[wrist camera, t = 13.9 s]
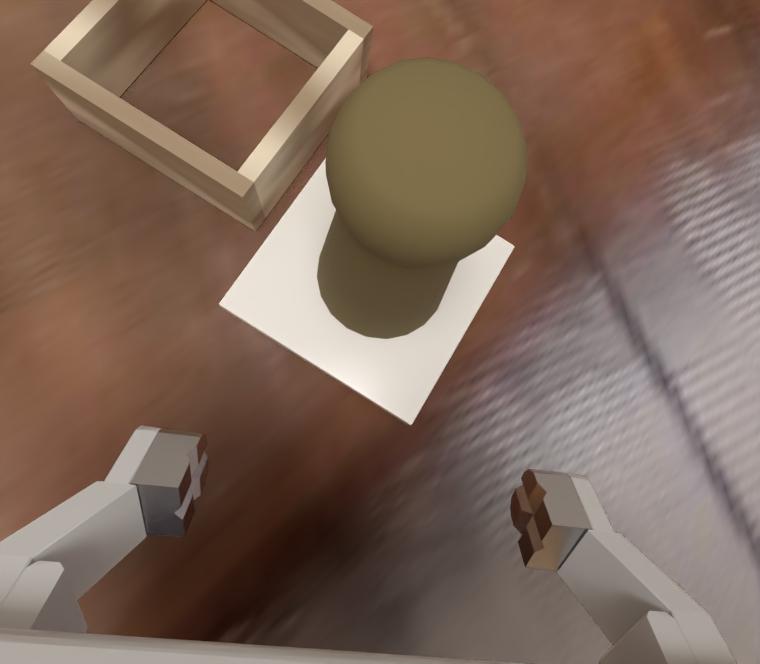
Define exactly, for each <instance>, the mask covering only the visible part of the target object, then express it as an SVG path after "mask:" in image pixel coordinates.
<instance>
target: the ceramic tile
mask: <svg viewBox="0 0 760 664" xmlns="http://www.w3.org/2000/svg"><path fill="white" fill-rule="evenodd" d="M325 161H326V158H325V160H324V161H323V162H322V164H321V165H320V166H319V168H318V169H317V171H316V172H315V173H314V175H313V176H312V177H311V179H310V180H309V181H308V183H307V184H306V186H305V187H304V188H303V190H302V191H301V192H300V194H299V195H298V197H297V198H296V199H295V201H294V202H293V203H292V205H291V206H290V207H289V209H288V210H287V212H286V213H285V214H284V216H283V217H282V218H281V220H280V221H279V222H278V224H277V225H276V227H275V228H274V229H273V231H272V232H271V233H270V235H269V236H268V238H267V239H266V240H265V242H264V243H263V244H262V246H261V247H260V248H259V250H258V251H257V253H256V254H255V255H254V257H253V258H252V259H251V261H250V262H249V263H248V265H247V266H246V268H245V269H244V270H243V272H242V273H241V274H240V276H239V277H238V278H237V280H236V281H235V283H234V284H233V285H232V287H231V288H230V289H229V291H228V292H227V294H226V295H225V296H224V298H223V299H222V300H221V302H220V303H219V305H220V306H221V307H222V308H223V309H224V310H225V311H227V312H228V313H230V314H232V315H233V316H235V317H236V318H238V319H240V320H241V321H243V322H244V323H246V324H248V325H249V326H251V327H252V328H254V329H255V330H257V331H259V332H260V333H262V334H263V335H265V336H267V337H268V338H270V339H271V340H273V341H275V342H276V343H278V344H279V345H281V346H283V347H284V348H286V349H287V350H289V351H291V352H292V353H294V354H295V355H297V356H299V357H300V358H302V359H303V360H305V361H306V362H308V363H310V364H311V365H313V366H314V367H316V368H318V369H319V370H321V371H322V372H324V373H326V374H327V375H329V376H330V377H332V378H334V379H335V380H337V381H338V382H340V383H342V384H343V385H345V386H346V387H348V388H350V389H351V390H353V391H354V392H356V393H357V394H359V395H361V396H362V397H364V398H365V399H367V400H369V401H370V402H372V403H373V404H375V405H377V406H378V407H380V408H381V409H383V410H385V411H386V412H388V413H389V414H391V415H393V416H394V417H396V418H397V419H399V420H400V421H402V422H404V423H405V424H407V425H412V423H413V422H414V420H415V418H416V416H417V415H418V413H419V411H420V409H421V408H422V406H423V404H424V403H425V401H426V399H427V397H428V396H429V394H430V392H431V390H432V389H433V387H434V385H435V383H436V382H437V380H438V378H439V377H440V375H441V373H442V371H443V370H444V368H445V366H446V364H447V363H448V361H449V359H450V358H451V356H452V354H453V352H454V351H455V349H456V347H457V345H458V344H459V342H460V340H461V339H462V337H463V335H464V333H465V332H466V330H467V328H468V326H469V325H470V323H471V321H472V320H473V318H474V316H475V314H476V313H477V311H478V309H479V307H480V306H481V304H482V302H483V300H484V299H485V297H486V295H487V294H488V292H489V290H490V288H491V287H492V285H493V283H494V281H495V280H496V278H497V276H498V275H499V273H500V271H501V269H502V268H503V266H504V264H505V262H506V261H507V259H508V257H509V256H510V254H511V252H512V250H513V249H514V247H515V246H513V245H512V244H510V243H509V242H507V241H505V240H504V239H502V238H501V237H499V236H497V235H496V236H495V237H494V238H493V239H492V240H491V241H490V242H489V243H488V244H487V245H486V246H485V247H484V248H482V249H480V250H478V251H476V252H475V253H473V254H471V255H469V256H467V257H466V258H464V259H462V260H460V261H459V262H458V264H457V266H456V269H455V271H454V273H453V275H452V278H451V280H450V282H449V285H448V287H447V289H446V291H445V294H444V296H443V298H442V300H441V303H440V305H439V307H438V310H437V311H436V312H435V313H434V314H433V316H432V317H431V318H430V319H429V320H428V321H427V322H426V324H425V325H423V326H422V327H420V328H418V329H416V330H415V331H413V332H411V333H410V334H408V335H405V336H400V337H395V338H390V339H381V338H372V337H365V336H363V335H361V334H359V333H356V332H354V331H352V330H350V329H347V328H346V327H345V326H344V325H343V324H342V323H340V322H339V321H338V320H337V319H336V318H335V317H334V316H333V315H331V313H330V311H329V310H328V308H327V306H326V304H325V303H324V301H323V299H322V298H321V295H320V290H319V285H318V280H317V271H318V263H319V256H320V253H321V251H322V248H323V245H324V242H325V239H326V236H327V234H328V231H329V228H330V225H331V222H332V219H333V217H334V214H335V211H336V209H335V207H334V205H333V204H332V200H331V196H330V191H329V187H328V182H327V178H326V165H325Z"/></svg>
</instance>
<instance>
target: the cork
mask: <svg viewBox="0 0 760 664" xmlns="http://www.w3.org/2000/svg"><path fill="white" fill-rule="evenodd" d="M325 165H326V178H327V182H328V187H329V191H330V196H331V200H332V204H333V205H334V207H335V209H336V211H335V214H334V217H333V219H332V222H331V225H330V228H329V231H328V234H327V236H326V239H325V242H324V245H323V248H322V251H321V253H320V256H319V263H318V271H317V280H318V285H319V290H320V295H321V298H322V299H323V301H324V303H325V304H326V306H327V308H328V310H329V311H330V313H331V315H333V316H334V317H335V318H336V319H337V320H338V321H339V322H340V323H342V324H343V325H344V326H345V327H346V328H347V329H350V330H352V331H354V332H356V333H359V334H361V335H363V336H365V337H372V338H381V339H390V338H395V337H400V336H405V335H408V334H410V333H411V332H413V331H415V330H416V329H418V328H420V327H422V326H423V325H425V324H426V322H427V321H428V320H429V319H430V318H431V317H432V316H433V314H434V313H435V312H436V311H437V310H438V307H439V305H440V303H441V300H442V298H443V296H444V294H445V291H446V289H447V287H448V285H449V282H450V280H451V278H452V275H453V273H454V271H455V269H456V266H457V264H458V262H459V261H460V260H462V259H464V258H466V257H467V256H469V255H471V254H473V253H475V252H476V251H478V250H480V249H482V248H484V247H485V246H486V245H487V244H488V243H489V242H490V241H491V240H492V239H493V238H494V237H495V236H496V235H497V233H498V232H499V231H500V230H501V229H502V228H503V227H504V226H505V224H506V223H507V222H508V221H509V220H510V219H511V218H512V215H513V213H514V210H515V208H516V205H517V203H518V200H519V198H520V195H521V193H522V190H523V187H524V184H525V181H526V173H527V148H526V144H525V139H524V136H523V133H522V129H521V126H520V123H519V119H518V116H517V114H516V112H515V111H514V109H513V108H512V106H511V105H510V103H509V102H508V100H507V99H506V97H505V96H504V94H503V93H502V92H501V91H500V90H499V89H498V88H497V87H496V86H494V85H493V84H492V83H491V82H490V81H489V80H487V79H486V78H485V77H484V76H483V75H482V74H480V73H478V72H475V71H473V70H471V69H469V68H467V67H465V66H463V65H461V64H459V63H456V62H451V61H446V60H440V59H434V58H420V59H410V60H402V61H399V62H397V63H395V64H392V65H390V66H388V67H386V68H383V69H381V70H379V71H377V72H375V73H374V74H372V75H370V76H369V77H368V78H367V79H365V80H364V81H363V82H362V83H361V84H360V85H359V86H358V87H357V88H356V89H355V90H353V91H352V92H351V93H350V94H349V95H348V96H347V98H346V100H345V102H344V104H343V105H342V107H341V109H340V111H339V113H338V115H337V117H336V119H335V121H334V123H333V125H332V128H331V130H330V132H329V138H328V145H327V153H326V161H325Z"/></svg>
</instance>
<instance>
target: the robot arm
mask: <svg viewBox="0 0 760 664" xmlns="http://www.w3.org/2000/svg"><path fill="white" fill-rule="evenodd" d="M206 445H207V438H206V434H203V433H196V432H188V431H181V430H174V429H166V428H157V427H149V426H140V427H138V428H137V429H136V430H135V431H134V433H133V434H132V436H131V438H130V439H129V441H128V443H127V444H126V446H125V447H124V449H123V451H122V452H121V454H120V456H119V457H118V459H117V461H116V462H115V464H114V465H113V467H112V469H111V470H110V472H109V474H108V475H107V477H106V479H105V480H104V482H103V481H96V482H95V483H93V484H91V485H90V486H88V487H87V488H85V489H84V490H82V491H80V492H79V493H77V494H76V495H74V496H72V497H71V498H69V499H68V500H66V501H64V502H63V503H61V504H60V505H58V506H57V507H55V508H53V509H52V510H50V511H49V512H47V513H45V514H44V515H42V516H41V517H39V518H37V519H36V520H34V521H33V522H31V523H30V524H28V525H26V526H25V527H23V528H22V529H20V530H18V531H17V532H15V533H14V534H12V535H10V536H9V537H7V538H6V539H4V540H3V541H1V542H0V664H531V663H516V662H502V661H487V660H473V659H458V658H444V657H429V656H414V655H400V654H385V653H371V652H356V651H341V650H327V649H312V648H298V647H283V646H268V645H253V644H239V643H224V642H209V641H194V640H180V639H165V638H150V637H136V636H121V635H106V634H91V633H85V632H86V630H87V628H88V627H87V624H86V621H85V619H84V616H83V614H82V611H81V609H80V607H79V604H78V602H77V600H78V599H79V598H80V597H81V596H82V595H84V594H85V593H86V592H87V591H88V590H89V589H90V588H91V587H92V586H93V585H95V584H96V583H97V582H98V581H99V580H100V579H101V578H102V577H103V576H104V575H105V574H107V573H108V572H109V571H110V570H111V569H112V568H113V567H114V566H115V565H116V564H117V563H119V562H120V561H121V560H122V559H123V558H124V557H125V556H126V555H127V554H128V553H129V552H131V551H132V550H133V549H134V548H135V547H136V546H137V545H138V544H139V543H140V542H142V541H143V540H144V539H145V538H146V537H147V535H146V534H148V535H164V536H180V537H185V535H186V532H187V530H188V527H189V524H190V522H191V519H192V517H193V514H194V511H195V510H194V500H195V499H196V498H197V497H199V496H200V495H201V493H202V490H203V487H204V485H205V481H206V476H207V472H208V456H207V455H206V454H205V453H204V450H205V448H206ZM521 479H522V482H523V485H522V486H520V487H518V488H516V489H515V491H514V493H513V496H512V499H511V507H510V509H511V517H512V521H513V525H514V526H515V528H516V529H517V530H518V531H519V532H520V533H521V534H522V535H521V537H520V539H519V541H518V543H519V547H520V550H521V554H522V558H523V561H524V565H525V567H527V568H536V569H544V570H553V571H558V572H557V573H558V575H559V576H560V577H561V579H562V580H563V581H564V582H565V584H566V585H567V586H568V588H569V589H570V590H571V591H572V593H573V594H574V595H575V597H576V598H577V599H578V600H579V602H580V603H581V604H582V606H583V607H584V608H585V610H586V611H587V612H588V613H589V615H590V616H591V617H592V619H593V620H594V621H595V622H596V624H597V625H598V626H599V628H600V629H601V630H602V631H603V633H604V634H605V635H606V637H607V638H608V639H609V641H610V642H611V643H612V644H613V646H612V647H611V648H610V649H609V650H608V651H607V652H606V653H605V654H604V655H603V656H602V657H601V659H600V661H599V662H598V663H599V664H737V662H736V660H735V659H734V657H733V655H732V653H731V651H730V650H729V648H728V646H727V644H726V643H725V641H724V639H723V637H722V636H721V634H720V632H719V630H718V628H717V627H716V625H715V623H714V621H713V620H712V618H711V616H710V614H709V613H707V612H706V611H705V610H704V609H703V608H702V607H701V606H700V605H699V604H698V603H696V602H695V601H694V600H693V599H692V598H691V597H690V596H689V595H688V594H687V593H685V592H684V591H683V590H682V589H681V588H680V587H679V586H678V585H677V584H676V583H674V582H673V581H672V580H671V579H670V578H669V577H668V576H667V575H666V574H665V573H663V572H662V571H661V570H660V569H659V568H658V567H657V566H656V565H655V564H654V563H652V562H651V561H650V560H649V559H648V558H647V557H646V556H645V555H644V554H642V553H641V552H640V551H639V550H638V549H637V548H636V547H635V546H634V545H633V544H631V543H630V542H629V541H628V540H627V539H626V538H625V537H624V536H623V535H622V534H620V533H617V532H614V531H613V529H612V526H611V524H610V522H609V520H608V518H607V516H606V514H605V512H604V510H603V508H602V506H601V503H600V501H599V499H598V497H597V495H596V493H595V491H594V489H593V487H592V485H591V482H590V480H589V479H588V478H587V477H586V476H585V475H580V474H570V473H563V472H554V471H543V470H533V469H528V470H527V471H525V472H524V474H523V476H522V478H521Z"/></svg>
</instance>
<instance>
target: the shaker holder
mask: <svg viewBox="0 0 760 664" xmlns="http://www.w3.org/2000/svg"><path fill="white" fill-rule="evenodd" d="M211 1H212V2H214V3H215V4H217V5H219V6H220V7H222V8H223V9H225V10H227V11H228V12H230V13H231V14H233V15H235V16H236V17H238V18H239V19H241V20H242V21H244V22H246V23H247V24H249V25H250V26H252V27H254V28H255V29H257V30H258V31H260V32H262V33H263V34H265V35H266V36H268V37H269V38H271V39H273V40H274V41H276V42H277V43H279V44H281V45H282V46H284V47H285V48H287V49H289V50H290V51H292V52H293V53H295V54H297V55H298V56H300V57H301V58H303V59H304V60H306V61H308V62H309V63H311V64H312V65H314V66H316V67H317V68H318V69H317V71H316V72H315V73H314V74H313V76H312V77H311V78H310V79H309V81H308V82H307V83H306V85H305V86H304V87H303V88H302V90H301V91H300V92H299V94H298V95H297V96H296V97H295V99H294V100H293V101H292V102H291V104H290V105H289V106H288V108H287V109H286V110H285V111H284V113H283V114H282V115H281V117H280V118H279V119H278V120H277V122H276V123H275V124H274V126H273V127H272V128H271V129H270V131H269V132H268V133H267V134H266V136H265V137H264V138H263V140H262V141H261V142H260V143H259V145H258V146H257V147H256V149H255V150H254V151H253V152H252V154H251V155H250V156H249V158H248V159H247V160H246V161H245V163H244V164H243V165H242V166H241V168H240V169H239V170H238V172H237V171H235V170H234V169H232V168H230V167H229V166H227V165H226V164H224V163H222V162H221V161H219V160H218V159H216V158H214V157H213V156H211V155H210V154H208V153H206V152H205V151H203V150H202V149H200V148H199V147H197V146H195V145H194V144H192V143H191V142H189V141H187V140H186V139H184V138H183V137H181V136H179V135H178V134H176V133H175V132H173V131H171V130H170V129H168V128H167V127H165V126H164V125H162V124H160V123H159V122H157V121H156V120H154V119H152V118H151V117H149V116H148V115H146V114H144V113H143V112H141V111H140V110H138V109H136V108H135V107H133V106H132V105H130V104H128V103H127V102H125V101H124V100H122V99H121V98H119V97H120V96H121V95H122V94H123V93H124V92H125V91H126V89H127V88H128V87H129V86H130V85H131V84H132V83H133V82H134V81H135V79H136V78H137V77H138V76H139V75H140V74H141V73H142V72H143V71H144V69H145V68H146V67H147V66H148V65H149V64H150V63H151V62H152V61H153V59H154V58H155V57H156V56H157V55H158V54H159V53H160V52H161V50H162V49H163V48H164V47H165V46H166V45H167V44H168V43H169V42H170V40H171V39H172V38H173V37H174V36H175V35H176V34H177V33H178V32H179V30H180V29H181V28H182V27H183V26H184V25H185V24H186V23H187V22H188V20H189V19H190V18H191V17H192V16H193V15H194V14H195V13H196V12H197V10H198V9H199V8H200V7H201V6H202V5H203V4H204V3H205V2H206V0H93V1H92V2H91V3H90V4H89V5H88V6H87V7H86V8H85V9H84V10H83V11H82V12H81V13H80V14H79V15H78V16H77V17H76V18H75V19H74V20H73V21H72V22H71V23H70V24H69V25H68V26H67V27H66V28H65V29H64V30H63V31H62V32H61V33H60V34H59V35H58V36H57V37H56V38H55V39H54V40H53V41H52V42H51V43H50V44H49V45H48V47H47V48H46V49H45V50H44V51H43V52H42V53H41V54H40V55H39V56H38V57H37V58H36V59H35V60H34V61H33V62H32V63H31V65H32V67H33V68H34V69H35V70H36V71H37V73H38V74H39V75H40V76H41V77H42V78H43V80H44V81H45V82H46V83H47V84H48V86H49V87H50V88H51V89H52V90H53V92H54V93H55V94H56V95H57V96H58V97H59V99H60V100H61V101H62V102H63V103H64V105H65V106H66V107H67V108H68V109H69V110H70V112H71V113H72V114H73V115H74V116H75V118H76V119H77V120H79V121H80V122H82V123H83V124H85V125H87V126H88V127H90V128H91V129H93V130H95V131H96V132H98V133H99V134H101V135H102V136H104V137H106V138H107V139H109V140H110V141H112V142H114V143H115V144H117V145H118V146H120V147H122V148H123V149H125V150H126V151H128V152H130V153H131V154H133V155H134V156H136V157H138V158H139V159H141V160H142V161H144V162H145V163H147V164H149V165H150V166H152V167H153V168H155V169H157V170H158V171H160V172H161V173H163V174H165V175H166V176H168V177H169V178H171V179H173V180H174V181H176V182H177V183H179V184H181V185H182V186H184V187H185V188H187V189H188V190H190V191H192V192H193V193H195V194H196V195H198V196H200V197H201V198H203V199H204V200H206V201H208V202H209V203H211V204H212V205H214V206H216V207H217V208H219V209H220V210H222V211H223V212H225V213H227V214H228V215H230V216H231V217H233V218H235V219H236V220H238V221H239V222H241V223H243V224H244V225H246V226H247V227H249V228H251V229H252V230H254V231H255V232H256V231H257V229H258V228H259V227H260V225H261V224H262V223H263V221H264V220H265V219H266V217H267V216H268V215H269V213H270V212H271V211H272V209H273V208H274V207H275V205H276V204H277V202H278V201H279V200H280V198H281V197H282V196H283V194H284V193H285V192H286V190H287V189H288V188H289V186H290V185H291V184H292V182H293V181H294V180H295V178H296V177H297V175H298V174H299V173H300V171H301V170H302V169H303V167H304V166H305V165H306V163H307V162H308V161H309V159H310V158H311V157H312V155H313V154H314V153H315V151H316V150H317V149H318V147H319V146H320V144H321V143H322V142H323V140H324V139H325V138H326V136H327V135H328V134H329V132H330V130H331V128H332V125H333V123H334V121H335V119H336V117H337V115H338V113H339V111H340V109H341V107H342V105H343V104H344V102H345V100H346V98H347V96H348V95H349V94H350V93H351V92H352V91H353V90H355V89H356V88H357V87H358V86H359V85H360V84H361V83H362V82H363V81H364V80H365V79H367V73H368V65H369V57H370V48H371V40H372V32H373V26H371V25H370V24H368V23H366V22H365V21H363V20H362V19H360V18H358V17H357V16H355V15H354V14H352V13H350V12H349V11H347V10H346V9H344V8H343V7H341V6H339V5H338V4H336V3H335V2H333V1H331V0H211Z"/></svg>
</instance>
